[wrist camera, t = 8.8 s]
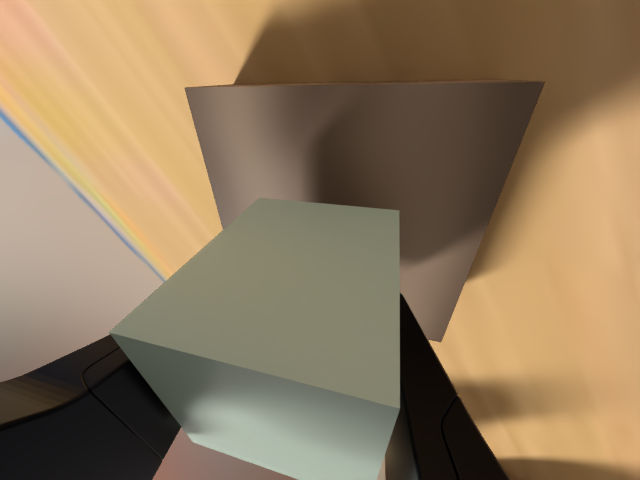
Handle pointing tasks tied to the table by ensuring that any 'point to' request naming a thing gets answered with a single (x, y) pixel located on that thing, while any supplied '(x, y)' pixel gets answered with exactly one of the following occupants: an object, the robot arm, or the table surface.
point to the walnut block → (375, 162)
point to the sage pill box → (282, 339)
